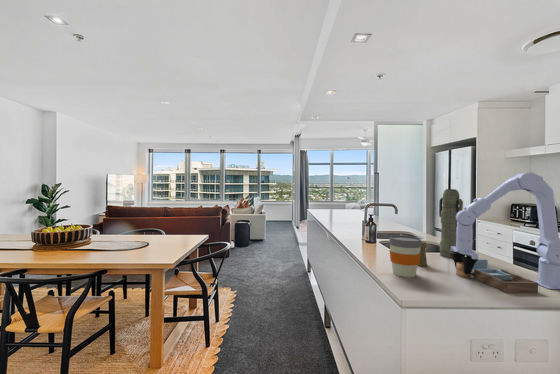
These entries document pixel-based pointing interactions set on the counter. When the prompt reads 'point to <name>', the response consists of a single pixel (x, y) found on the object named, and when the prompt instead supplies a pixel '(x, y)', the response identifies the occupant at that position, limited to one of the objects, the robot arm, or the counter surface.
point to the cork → (423, 254)
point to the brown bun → (461, 270)
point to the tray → (490, 270)
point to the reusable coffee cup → (405, 255)
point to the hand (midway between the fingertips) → (463, 272)
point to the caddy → (508, 282)
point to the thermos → (449, 220)
